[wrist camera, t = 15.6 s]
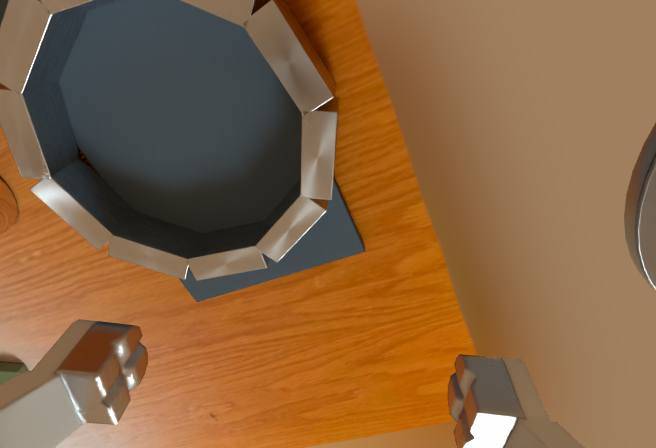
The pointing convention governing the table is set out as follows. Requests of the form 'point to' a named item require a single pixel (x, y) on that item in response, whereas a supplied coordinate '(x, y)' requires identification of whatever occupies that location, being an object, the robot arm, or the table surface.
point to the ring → (101, 200)
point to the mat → (193, 129)
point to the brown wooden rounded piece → (7, 208)
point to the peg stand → (10, 371)
